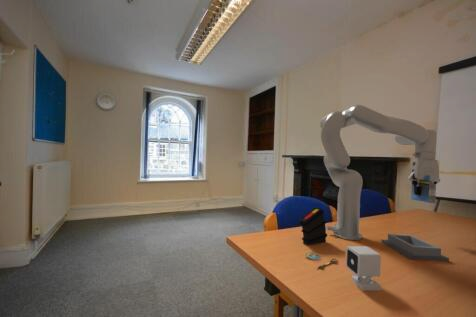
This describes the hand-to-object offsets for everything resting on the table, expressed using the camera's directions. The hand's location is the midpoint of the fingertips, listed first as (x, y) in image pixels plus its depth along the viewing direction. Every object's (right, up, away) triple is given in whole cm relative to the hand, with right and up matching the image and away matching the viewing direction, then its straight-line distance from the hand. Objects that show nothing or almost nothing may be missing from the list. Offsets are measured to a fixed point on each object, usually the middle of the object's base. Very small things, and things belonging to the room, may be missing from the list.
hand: (422, 194), depth 103 cm
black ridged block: (-55, -19, -9) cm, 59 cm away
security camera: (-51, -19, -40) cm, 68 cm away
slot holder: (-16, -21, -14) cm, 29 cm away
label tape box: (0, -3, 0) cm, 3 cm away
